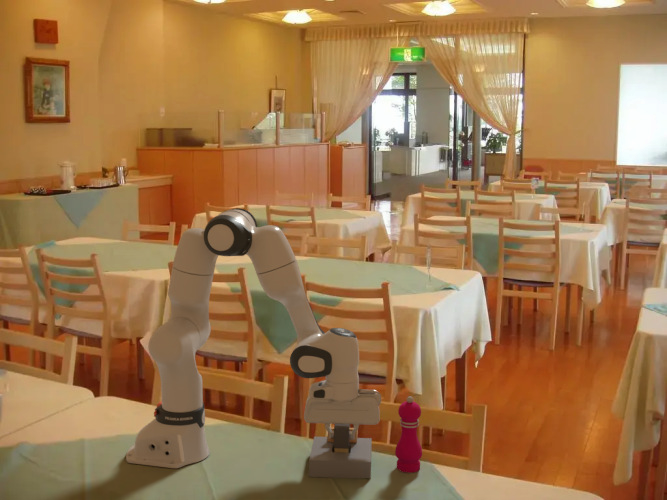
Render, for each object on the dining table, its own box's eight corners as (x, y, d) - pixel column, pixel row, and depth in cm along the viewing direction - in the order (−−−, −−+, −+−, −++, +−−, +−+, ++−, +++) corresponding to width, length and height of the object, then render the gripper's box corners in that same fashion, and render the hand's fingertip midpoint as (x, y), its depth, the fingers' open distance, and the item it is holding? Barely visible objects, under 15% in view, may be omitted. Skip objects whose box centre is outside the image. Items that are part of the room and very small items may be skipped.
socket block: (309, 476, 211) (309, 460, 211) (314, 452, 227) (314, 436, 226) (370, 478, 210) (370, 462, 210) (371, 453, 226) (371, 438, 225)
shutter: (327, 441, 222) (327, 428, 222) (329, 430, 230) (329, 418, 230) (356, 442, 222) (357, 429, 221) (357, 431, 230) (357, 418, 229)
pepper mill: (420, 474, 213) (422, 402, 210) (393, 472, 214) (394, 399, 211) (423, 463, 220) (425, 393, 217) (396, 461, 221) (398, 391, 218)
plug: (333, 466, 216) (333, 430, 214) (334, 457, 222) (335, 422, 220) (348, 466, 215) (348, 430, 214) (349, 457, 221) (349, 422, 220)
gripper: (381, 386, 218) (380, 435, 220) (305, 384, 219) (305, 432, 221) (381, 393, 212) (380, 444, 214) (303, 391, 213) (303, 441, 215)
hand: (341, 438), depth 218 cm, fingers closed on plug, 4 cm apart
